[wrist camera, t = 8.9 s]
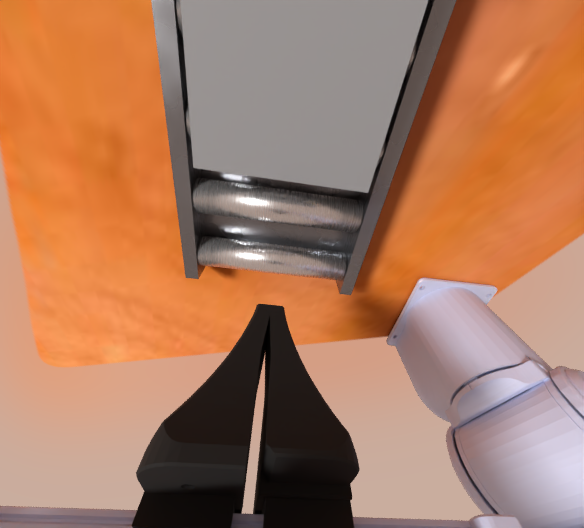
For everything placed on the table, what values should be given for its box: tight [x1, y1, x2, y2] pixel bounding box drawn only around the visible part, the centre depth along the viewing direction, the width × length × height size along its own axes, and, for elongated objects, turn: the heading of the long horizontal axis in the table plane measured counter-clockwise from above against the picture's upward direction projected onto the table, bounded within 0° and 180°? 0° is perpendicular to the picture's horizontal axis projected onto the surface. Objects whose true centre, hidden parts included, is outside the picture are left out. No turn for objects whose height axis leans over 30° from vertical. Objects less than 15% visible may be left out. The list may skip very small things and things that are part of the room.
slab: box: [180, 0, 428, 193], centre depth 11 cm, size 12×10×1 cm
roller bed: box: [151, 0, 456, 295], centre depth 15 cm, size 22×14×3 cm, turn 172°
